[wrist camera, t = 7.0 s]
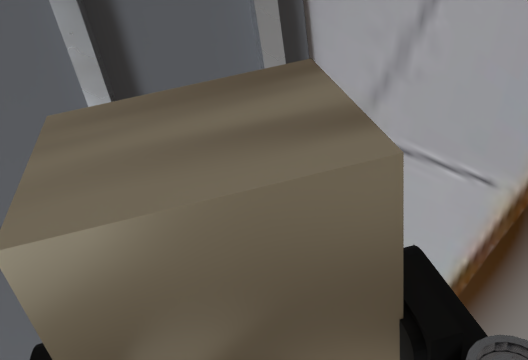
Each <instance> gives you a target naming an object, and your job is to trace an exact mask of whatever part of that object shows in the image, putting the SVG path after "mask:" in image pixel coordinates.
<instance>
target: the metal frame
mask: <svg viewBox="0 0 528 360" xmlns="http://www.w3.org/2000/svg"><path fill="white" fill-rule="evenodd" d="M49 2H50V4H51V7H52V10H53V12H54V15H55V18H56V21H57V23H58V26H59V29H60V31H61V34H62V37H63V39H64V42H65V45H66V48H67V50H68V53H69V56H70V58H71V61H72V64H73V67H74V69H75V72H76V75H77V77H78V80H79V83H80V86H81V88H82V91H83V94H84V96H85V99H86V102H87V105H88V107H91V106H95V105H100V104H104V103H109V102H113V101H116V98H115V95H114V92H113V90H112V87H111V84H110V81H109V78H108V75H107V72H106V69H105V66H104V63H103V60H102V57H101V54H100V51H99V48H98V45H97V42H96V39H95V36H94V33H93V30H92V27H91V24H90V21H89V18H88V15H87V12H86V9H85V6H84V3H83V0H49ZM249 6H250V12H251V18H252V24H253V30H254V36H255V42H256V48H257V55H258V61H259V67H260V69H265V68H269V67H274V66H279V65H283V64H286V61H285V53H284V46H283V38H282V31H281V23H280V16H279V8H278V1H277V0H249Z"/></svg>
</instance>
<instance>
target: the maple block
mask: <svg viewBox="0 0 528 360" xmlns="http://www.w3.org/2000/svg"><path fill="white" fill-rule="evenodd" d="M0 269H1V271H2V273H3V274H4V276H5V278H6V280H7V281H8V283H9V285H10V287H11V288H12V290H13V292H14V294H15V295H16V297H17V299H18V301H19V302H20V304H21V306H22V308H23V309H24V311H25V313H26V315H27V316H28V318H29V320H30V322H31V323H32V325H33V327H34V328H35V330H36V332H37V334H38V335H39V337H40V339H41V341H42V342H43V344H44V346H45V348H46V349H47V351H48V353H49V355H50V356H51V358H52V360H400V330H399V319H403V152H402V151H401V150H400V149H399V148H398V147H397V145H396V144H395V143H394V142H393V141H392V140H391V139H390V138H389V137H388V136H387V135H386V134H385V133H384V132H383V131H382V130H381V129H380V128H379V127H378V126H377V125H376V124H375V123H374V122H373V121H372V120H371V119H370V118H369V117H368V116H367V115H366V114H365V113H364V112H363V111H362V110H361V109H360V108H359V107H358V106H357V105H356V104H355V103H354V102H353V101H352V100H351V99H350V98H349V97H348V96H347V95H346V93H345V92H344V91H343V90H342V89H341V88H340V87H339V86H338V85H337V84H336V83H335V82H334V81H333V80H332V79H331V78H330V77H329V76H328V75H327V74H326V73H325V72H324V71H323V70H322V69H321V68H320V67H319V66H318V65H317V64H316V63H315V62H314V61H313V60H312V59H306V60H302V61H297V62H292V63H288V64H283V65H279V66H274V67H269V68H265V69H260V70H256V71H251V72H247V73H242V74H237V75H233V76H228V77H224V78H219V79H214V80H210V81H205V82H201V83H196V84H191V85H187V86H182V87H178V88H173V89H169V90H164V91H159V92H155V93H150V94H146V95H141V96H136V97H132V98H127V99H123V100H118V101H113V102H109V103H104V104H100V105H95V106H91V107H86V108H81V109H77V110H72V111H68V112H63V113H58V114H54V115H49V116H47V117H46V120H45V122H44V124H43V127H42V129H41V132H40V134H39V137H38V139H37V141H36V144H35V146H34V149H33V151H32V154H31V156H30V158H29V161H28V163H27V166H26V168H25V171H24V173H23V176H22V178H21V180H20V183H19V185H18V188H17V190H16V193H15V195H14V197H13V200H12V202H11V205H10V207H9V210H8V212H7V214H6V217H5V219H4V222H3V224H2V227H1V229H0Z"/></svg>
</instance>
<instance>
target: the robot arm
mask: <svg viewBox="0 0 528 360" xmlns="http://www.w3.org/2000/svg"><path fill="white" fill-rule="evenodd" d="M399 330H400V360H528V341H527V340H525V339H521V338H518V337H514V336H507V335H506V336H505V335H495V336H489V337H488V336H487V335H486V333H485V332H484V331H483V330H482V328H481V327H480V326H479V324H478V323H477V322H476V320H475V319H474V318H473V316H472V315H471V314H470V313H469V311H468V310H467V309H466V307H465V306H464V305H463V304H462V302H461V301H460V300H459V298H458V297H457V296H456V294H455V293H454V292H453V290H452V289H451V288H450V287H449V285H448V284H447V283H446V281H445V280H444V279H443V277H442V276H441V275H440V274H439V272H438V271H437V270H436V268H435V267H434V266H433V264H432V263H431V262H430V260H429V259H428V258H427V257H426V255H425V254H424V253H423V251H422V250H421V249H420V248H419V247H417V246H415V245H413V246H409V247H405V248H403V319H399ZM30 360H52V358H51V356H50V355H49V353H48V351H47V349H46V348H45V346H44V344H43V343H41V344H37V345H36V346H35V347H34V348H33V351H32V353H31V356H30Z"/></svg>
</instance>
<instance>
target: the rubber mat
mask: <svg viewBox="0 0 528 360" xmlns="http://www.w3.org/2000/svg"><path fill="white" fill-rule="evenodd" d="M277 1H278V8H279V16H280V23H281V31H282V38H283V46H284V53H285V61H286V64H288V63H292V62H297V61H302V60H306V59H309V52H308V43H307V33H306V24H305V15H304V5H303V0H277ZM83 3H84V6H85V9H86V12H87V15H88V18H89V21H90V24H91V27H92V30H93V33H94V36H95V39H96V42H97V45H98V48H99V51H100V54H101V57H102V60H103V63H104V66H105V69H106V72H107V75H108V78H109V81H110V84H111V87H112V90H113V92H114V95H115V98H116V101H118V100H123V99H127V98H132V97H136V96H141V95H146V94H150V93H155V92H159V91H164V90H169V89H173V88H178V87H182V86H187V85H191V84H196V83H201V82H205V81H210V80H214V79H219V78H224V77H228V76H233V75H237V74H242V73H247V72H251V71H256V70H260V67H259V61H258V55H257V48H256V42H255V36H254V30H253V24H252V18H251V12H250V6H249V0H83ZM86 107H88V105H87V102H86V99H85V96H84V94H83V91H82V88H81V86H80V83H79V80H78V77H77V75H76V72H75V69H74V67H73V64H72V61H71V58H70V56H69V53H68V50H67V48H66V45H65V42H64V39H63V37H62V34H61V31H60V29H59V26H58V23H57V21H56V18H55V15H54V12H53V10H52V7H51V4H50V2H49V0H0V229H1V227H2V224H3V222H4V219H5V217H6V214H7V212H8V210H9V207H10V205H11V202H12V200H13V197H14V195H15V193H16V190H17V188H18V185H19V183H20V180H21V178H22V176H23V173H24V171H25V168H26V166H27V163H28V161H29V158H30V156H31V154H32V151H33V149H34V146H35V144H36V141H37V139H38V137H39V134H40V132H41V129H42V127H43V124H44V122H45V120H46V117H47V116H49V115H54V114H58V113H63V112H68V111H72V110H77V109H81V108H86ZM41 343H43V342H42V341H41V339H40V337H39V335H38V334H37V332H36V330H35V328H34V327H33V325H32V323H31V322H30V320H29V318H28V316H27V315H26V313H25V311H24V309H23V308H22V306H21V304H20V302H19V301H18V299H17V297H16V295H15V294H14V292H13V290H12V288H11V287H10V285H9V283H8V281H7V280H6V278H5V276H4V274H3V273H2V271H1V269H0V360H30V356H31V353H32V351H33V348H34V347H35V346H36V345H37V344H41Z"/></svg>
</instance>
